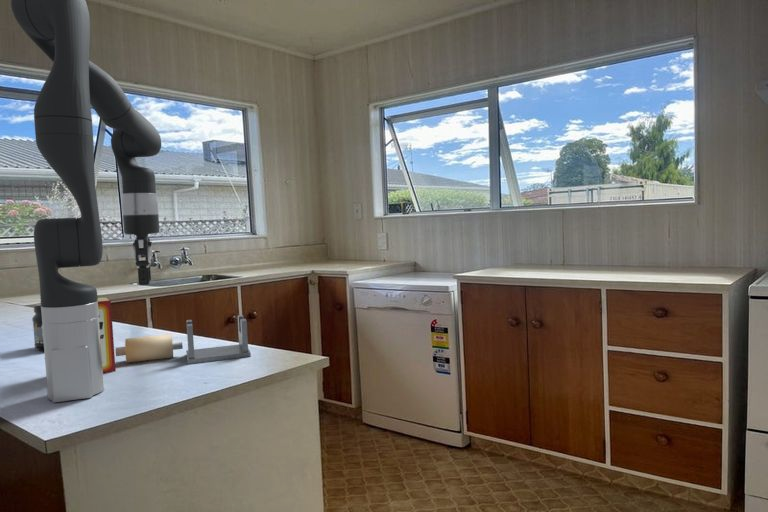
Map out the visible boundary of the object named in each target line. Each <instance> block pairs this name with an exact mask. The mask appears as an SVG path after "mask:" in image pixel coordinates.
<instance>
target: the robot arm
mask: <svg viewBox="0 0 768 512" xmlns="http://www.w3.org/2000/svg"><path fill="white" fill-rule="evenodd" d="M10 6H11V11H12V13H13V14H12V15H13V16H14V19H15V21H17V23H18V25H19V27H20V28H21V29H22V30H23V32H24V33H25V34H26V36H28V38H29V39H30V40H31V41H32V42H33V43H34V44H35V45H36V46H37V47H38V48H39V49H40V50H41V51H42V52H43V53H44V54H45V55H46V56H47V57H48V59H50V60H51V62H52V66H51V69H50V71H49V74H48V75H47V78H46V80H45V81H44V83H43V85H42V87H41V89H40V91H39V93H38V96H37V97H36V101H35V104H34V107H33V118H34V119H33V120H34V121H33V122H34V123H33V124H34V133H35V134H34V135H35V143H36V146H37V149H38V151H39V152H40V154H41V155H42V157H43V159H44V160H45V161H46V162H47V164H49V166H50V167H51V168H52V169H53V171H54V172H55V173H56V174H57V176H58V177H59V178H60V179H61V180H62V182H63V183H64V185H65V187H67V188H68V191H69V192H70V193H71V195H72V197H73V199H74V200H75V203H76V204H77V206H78V209H79V212H80V217H58V218H55V217H53V218H42V219H39V220H37V221H36V223H35V225H34V227H33V228H34V229H33V243H34V251H35V256H36V257H35V258H36V264H37V271H38V281H39V293H40V294H39V295H40V303H41V313H42V327H43V340H44V351H43V353H44V363H45V375H46V387H47V388H46V389H47V398H48V400H49V401H52V403H60V402H67V401H68V402H69V401H75V400H82V399H89V398H92V397H93V396H96V395H97V394H100V393H101V392H103V391H104V389H105V387H104V385H105V383H104V373H103V369H102V356H101V342H100V328H99V313H98V298H99V297H98V291H97V288H96V287H95V286H93V285H91V284H90V285H89V284H86V283H80V282H77V281H74V280H70V279H68V278H66V277H65V276H63V275H61V274H60V272H59V269H64V268H81V267H82V268H83V267H92V266H93V267H94V266H97V265H99V264H100V263H101V261H102V259H103V258H102V257H103V253H104V252H103V249H104V247H103V236H102V227H101V219H100V212H99V203H98V196H97V188H96V176H95V174H96V173H95V152H94V151H95V149H94V146H95V145H94V129H93V116H92V109H93V110H94V111H95V113H96V115H98V117H99V119H100V120H101V121H102V122H103V124H104V125H106V126H107V127H108V128H111V129H114V130H113V132H112V133H111V136H110V137H111V138H110V146H111V149H112V153H113V155H114V157H115V161H116V163H117V166H118V170H119V172H120V175H121V184H122V186H121V187H122V201H121V203H122V205H121V206H122V221H123V233H124V234H125V235H133V236H134V235H135V236H136V239H134V242H132V247H133V252H134V253H133V257H134V260H135V266H136V269H137V277H138V278H137V279H138V285H139V286H148V285H150V281H151V280H152V275H151V274H152V272H151V271H152V270H151V264H152V258H153V251H152V249H153V242H152V241H151V239H150V237H149V235H153V234H154V235H156V234H158V233H160V220H159V219H160V218H159V217H160V215H159V203H158V202H159V201H158V198H157V189H156V175H155V172H154V170H152V169H151V168H149V167H143V166H140V165H139V164H138V162H137V160H136V158H149V157H154V156H156V155H158V154H159V152H160V151H161V148H162V139H161V136H160V133H159V131H158V130H157V128H156V127H155V126H154V124H152V123H151V122H150V121H149V120H148V119H147V118H146V117H145V116H144V115H143V114H142V113H141V112H139V111H138V110H137V109H136V108H135V107H134V106H133V105H132V103H131V102H130V100H129V98H128V97H127V95H126V93H125V92H124V90H123V89H122V87H121V86H120V85H119V83H118V82H117V81H116V80H115V79H114V78H113V77H112V76H111V75H110V74H109V73H107V72H106V71H105V70H103V69H102V68H100V66H98V65H96V64H95V63H93V62H92V61H91V60H90V48H91V47H90V43H91V20H90V19H91V18H90V11H89V8H88V4H87V1H86V0H10ZM91 108H92V109H91Z"/></svg>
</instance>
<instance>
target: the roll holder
mask: <svg viewBox="0 0 768 512" xmlns="http://www.w3.org/2000/svg"><path fill="white" fill-rule="evenodd" d="M237 329H238V331H237V333H238V344H233V345H232V344H231V345H224V346H223V345H222V346H214V347H205V348H197V349H196V348H195V344H194V341H195V340H194V332H193V331H194V327H193V320H192V319H187V320H186V337H187V339H186V340H187V350H186V361H187V363H186V364H187V365H192V364H199V363H208V362H209V363H210V362H218V361H224V360H226V361H227V360H233V359H241V358H248V357H251V356H252V355H251V354H252V353H251V351H250V349H249V341H248V339H249V338H248V322H247V319H246V318H244V315H243V314H240V315H239V314H238V315H237Z"/></svg>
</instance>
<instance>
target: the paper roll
mask: <svg viewBox="0 0 768 512" xmlns="http://www.w3.org/2000/svg"><path fill="white" fill-rule="evenodd" d="M124 345H125V346H119V347H116V346H115V357H120V356H121V357H123V356H125V361H126V363H127V364H130V362H131V363H139V362H145V361H146V362H147V360H148V361H155V360H156V361H157V360H163V359H164V358H165V359H170V358H171V359H173V358H174V351H175V350H177V351H178V350H182V349H183V340H174V341H173V333H168V334H159V335H150V336H149V335H148V336H141V337H140V336H139V337H130V338H125V341H124ZM172 357H173V358H172Z"/></svg>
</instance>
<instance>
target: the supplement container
mask: <svg viewBox="0 0 768 512" xmlns="http://www.w3.org/2000/svg"><path fill="white" fill-rule="evenodd" d="M33 313H34V315H33V316H32V319H31V321H32V328H33V338H34V339H33V340H34V341H33V342H34V344H33V345H34V348H35V350H37V351H39V352H44V340H43V327H42V313H41V302H39V303H35V304H34V305H33Z"/></svg>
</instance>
